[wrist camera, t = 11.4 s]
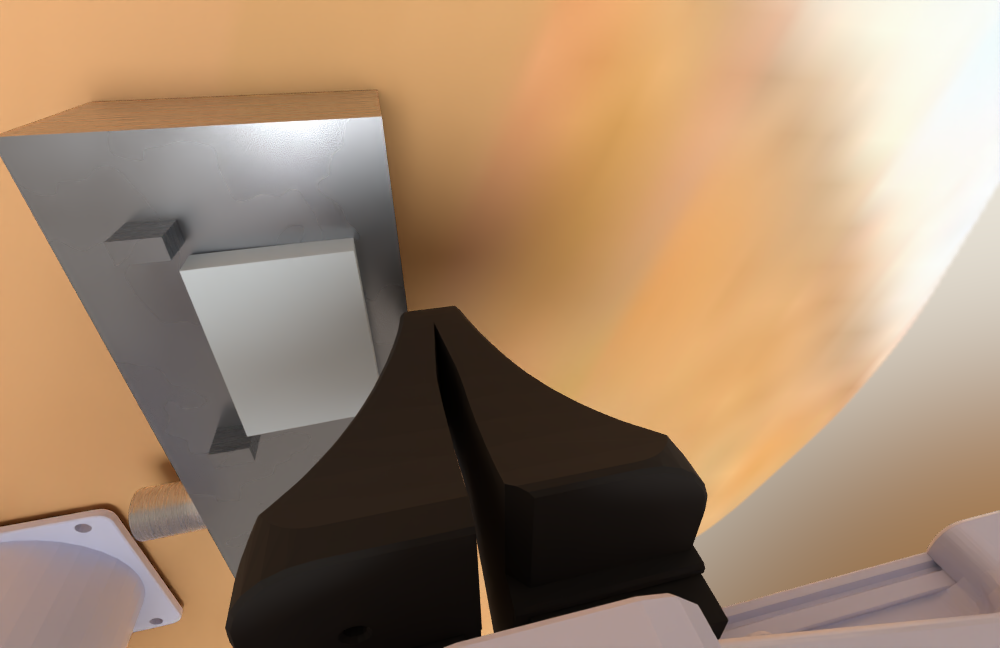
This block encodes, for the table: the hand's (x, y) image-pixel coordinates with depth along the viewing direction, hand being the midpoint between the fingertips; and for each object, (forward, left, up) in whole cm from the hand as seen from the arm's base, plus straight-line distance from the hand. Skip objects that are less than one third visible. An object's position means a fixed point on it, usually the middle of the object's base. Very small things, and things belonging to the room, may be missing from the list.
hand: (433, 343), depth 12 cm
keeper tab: (-6, 0, -1) cm, 6 cm away
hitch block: (-4, -4, -5) cm, 8 cm away
